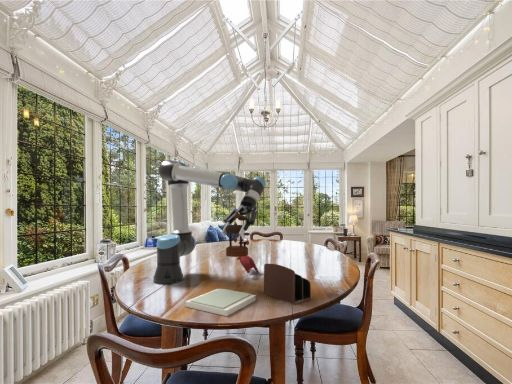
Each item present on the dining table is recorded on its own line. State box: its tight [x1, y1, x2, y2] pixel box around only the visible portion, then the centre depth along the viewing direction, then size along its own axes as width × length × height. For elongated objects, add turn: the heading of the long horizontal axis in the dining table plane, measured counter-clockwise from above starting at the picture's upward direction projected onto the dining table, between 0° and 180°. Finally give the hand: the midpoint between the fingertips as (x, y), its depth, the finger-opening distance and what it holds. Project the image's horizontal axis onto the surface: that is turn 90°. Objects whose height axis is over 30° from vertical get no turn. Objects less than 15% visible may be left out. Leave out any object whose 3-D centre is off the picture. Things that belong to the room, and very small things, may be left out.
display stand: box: [184, 288, 257, 317], centre depth 119 cm, size 20×20×2 cm
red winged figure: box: [236, 255, 260, 274], centre depth 171 cm, size 28×9×15 cm
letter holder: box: [262, 263, 312, 306], centre depth 128 cm, size 10×20×14 cm, turn 36°
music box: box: [219, 212, 251, 258], centre depth 140 cm, size 15×11×20 cm
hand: (231, 234), depth 138 cm, fingers open, 9 cm apart
